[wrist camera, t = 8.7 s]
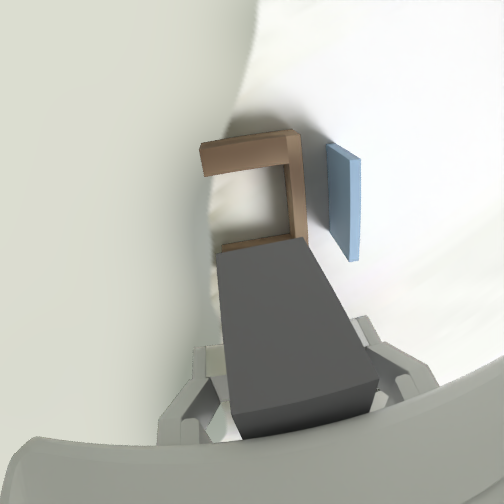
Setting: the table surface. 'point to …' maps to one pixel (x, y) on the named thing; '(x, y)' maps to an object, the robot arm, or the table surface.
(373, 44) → the table surface
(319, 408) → the plug
